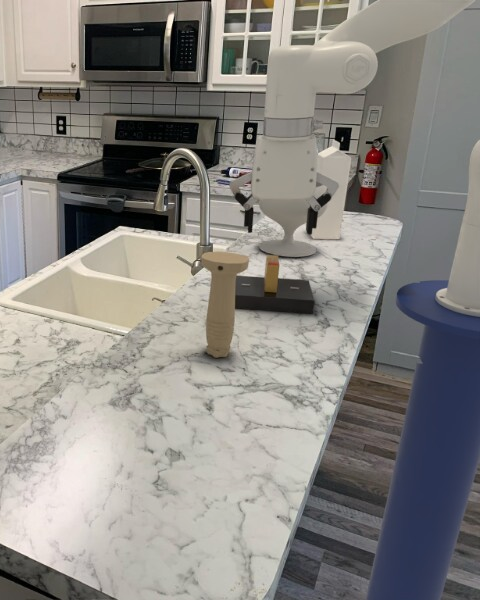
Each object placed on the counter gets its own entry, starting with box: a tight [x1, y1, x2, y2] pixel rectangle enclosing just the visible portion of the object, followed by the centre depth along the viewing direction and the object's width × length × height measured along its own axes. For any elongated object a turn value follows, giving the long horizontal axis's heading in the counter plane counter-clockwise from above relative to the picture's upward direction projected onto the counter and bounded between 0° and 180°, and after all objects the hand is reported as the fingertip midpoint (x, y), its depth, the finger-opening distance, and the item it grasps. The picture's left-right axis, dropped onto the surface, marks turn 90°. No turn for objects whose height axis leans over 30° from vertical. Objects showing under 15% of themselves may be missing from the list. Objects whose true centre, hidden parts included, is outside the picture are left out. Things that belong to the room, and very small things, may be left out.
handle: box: [200, 251, 250, 359], centre depth 88 cm, size 5×6×15 cm
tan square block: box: [263, 254, 280, 293], centre depth 107 cm, size 6×2×5 cm, turn 165°
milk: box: [310, 139, 352, 240], centre depth 141 cm, size 6×6×22 cm
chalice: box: [258, 181, 327, 258], centre depth 133 cm, size 14×14×15 cm
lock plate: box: [235, 275, 315, 315], centre depth 109 cm, size 14×10×3 cm
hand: (278, 231), depth 104 cm, fingers open, 9 cm apart
